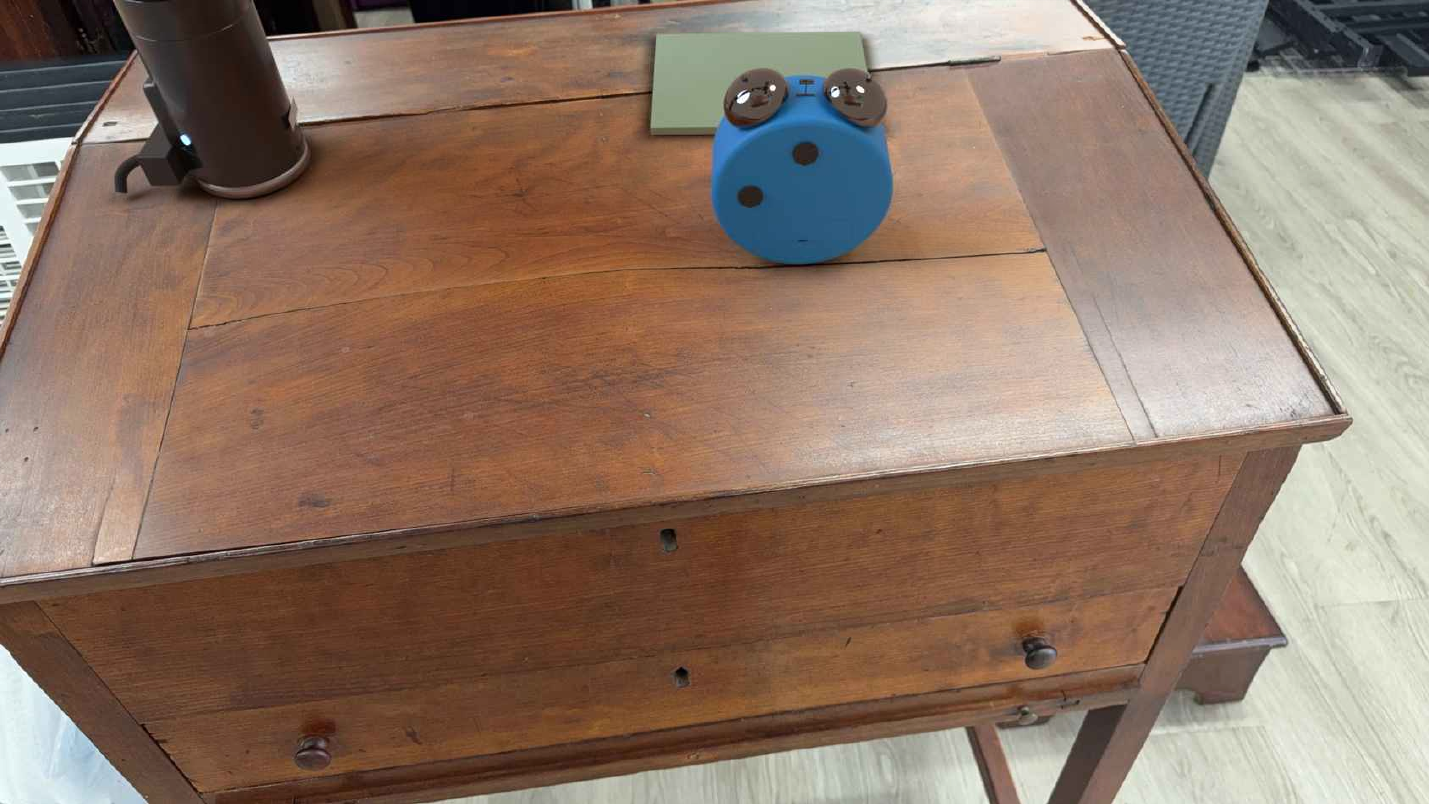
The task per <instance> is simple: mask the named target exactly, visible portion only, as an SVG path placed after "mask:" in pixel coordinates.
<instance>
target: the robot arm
mask: <svg viewBox="0 0 1429 804" xmlns="http://www.w3.org/2000/svg"><path fill="white" fill-rule="evenodd" d="M112 1H113V4H114V6H115V9H116V10H117V12H118V15H119V17H120V19H121V21H122V23H123V25H124V27H125V28H126V31H127V33H128V35H129V38H130V40H131V41H132V43H133V45H134V47H135V50H136V53H137V54H138V56H139V59H140V60H141V62H142V65H143V66H144V68H145V71H146V74H147V75H148V76H147V78H146V80H145V81H144V83H143V84H142V91H143V93H144V96H145V98H146V100H147V101H148V104H149V106H150V108H151V110H152V112H153V114H154V116H155V118H156V120H157V123H156V125H155V127H154V129H153V130H152V131H151V133H150V135H149V136H148V138H147V139H146V141H145V143H144V144H143V146H142V148H141V149H140V151H139V152H138V153H137V154H135V155H132V156H130V157H128V158H126V159H125V160H124V161H122V162H121V164H119V166H118V167H117V169H116V170H115V172H114V179H113V181H114V192H116V193H120V194H128V177H129V175H130V174H131V172H132V171H133V170H134V169H136V168H138V167H140V168H141V170H142V172H143V174H144V175H145V177H146V179H147V182H148V183H149V185H150V186H151V187H180V186H181V185H182V183H183V181H184V179H185V180H186V182H187V184H188V186H189V188H192V189H194V188H195V189H196V188H200V189H202V190H204V191H205V192H207V193H208V194H211V195H214V196H216V197H218V198H219V197H220V198H225V199H248V198H255V197H260V196H263V195H266V194H270V193H273V192H276V191H278V190H280V189H282V188H284V187H287V185H289V184H291V183H292V182H294V181H295V180H296V179H298V178H299V177H300V176H301V175H302V174H303V173H304V172H305V170H306V168H307V167H308V165H309V162H310V160H311V152H310V149H309V146H308V143H307V141H306V138H305V137H304V134H303V131H302V129H301V128H300V125H299V122H298V119H297V115H298V109H299V108H298V106H297V103H296V100H295V97H294V96H292V99H291V100H290V97H289V94H288V92H287V89H286V87H285V84H284V82H283V79H282V75H281V73H280V71H279V67H278V65H277V63H276V60H275V57H274V54H273V51H272V48H271V46H270V44H269V41H268V38H267V35H266V33H265V30H264V27H263V24H262V22H261V18H260V16H259V12H258V10H257V9H256V5H255V2H254V0H112Z"/></svg>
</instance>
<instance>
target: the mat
mask: <svg viewBox="0 0 1429 804" xmlns="http://www.w3.org/2000/svg"><path fill="white" fill-rule="evenodd" d="M655 37H656V38H655V49H654V50H655V51H654V52H655V53H654V66H653V67H654V68H653V69H654V70H653V81H652V83H653V84H652V96H651V111H650V113H651V115H650V135H651V136H690V135H696V136H698V135H715V134H716V131H717V129H718V126H719V124H720V122H721V120H722V118H723V117H724V115H725V114H724V108H723V102H724V96H725V94H726V91H727V89H728V87H729V86H730V85H731V83H732V82H733V81H734V80H735V79H736V78H737V77H738V76H739V75H741V74H742V73H744V72H746V71H748V70H751V69H755V68H771V69H774V70H776V71H778V72H780V73H781V74H782V75H783V76H784V77H788V76H797V75H811V76H820V77H825V78H827V77H828V76H829V75H830V74H831V73H832V72H834V71H835V70H838V69H841V68H849V67H852V68H857V69H861V70H864V71H866V72H868V73H869V71H868V67H867V61H866V57H865V56H866V55H865V50H864V45H863V39H862V33H861V31H803V32H802V31H801V32H799V31H797V32H796V31H794V32H793V31H791V32H787V31H786V32H715V33H714V32H712V33H711V32H709V33H707V32H705V33H656V35H655Z"/></svg>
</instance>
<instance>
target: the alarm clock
mask: <svg viewBox="0 0 1429 804" xmlns="http://www.w3.org/2000/svg"><path fill="white" fill-rule="evenodd" d="M723 108H724V114H725V115H724V117H723V118H722V120H721V122H720V124H719V126H718V129H717V131H716V134H714V138H713V143H712V152H711V153H712V155H711V203H712V204H711V205H712V208H713V211H714V215H715V217H716V220H717V221H718V224H719V225H720V227H721V229H722V230H723V232H724V233H725V234H726V235H727V236H728V237H729V239H731V240H732V242H734V243H735V244H736V245H737V246H738V247H740V248H742V249H743V250H744V251H746V252H748V253H750V254H752V255H754V256H755V257H758V258H761V259H764V260H766V261H770V262H772V263H773V262H774V263H777V264H778V263H779V264H784V265H810V264H811V265H812V264H817V263H823V262H826V261H829V260H833V259H835V258H839V257H840V256H843V255H845V254H847V253H849V252H851V251H852V250H854V249H856V248H858V247H859V246H861V244H863V243H864V242H866V241H867V240H868V239H869V238H870V237H871V236H872V235H873V234H874V233H875V232H876V231H877V230H878V228H879V227H880V226H881V224H882V222H883V221H884V219H885V218H886V216H887V215H888V212H889V209H890V207H891V202H892V199H893V193H894V177H893V171H892V165H891V159H890V153H889V148H888V141H887V134H886V131H885V127H884V124H883V122H884V119H885V118H886V115H887V112H888V108H889V107H888V97H887V93H886V91H885V89H884V87H883V85H882V83H880V81H879V80H878V79H877V78H876V77H875V76H874V75H873V74H872V73H869V71H868V72H866V71H864V70H861V69H857V68H852V67H849V68H841V69H838V70H835V71H834V72H832V73H831V74H830V75H829V76H828V77H827V78H825V77H820V76H811V75H797V76H788V77H784V76H783V75H782V74H781V73H780V72H778V71H776V70H774V69H771V68H755V69H751V70H748V71H746V72H744V73H742V74H741V75H739V76H738V77H737V78H736V79H735V80H734V81H733V82H732V83H731V85H730V86H729V87H728V89H727V91H726V94H725V96H724V102H723Z"/></svg>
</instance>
